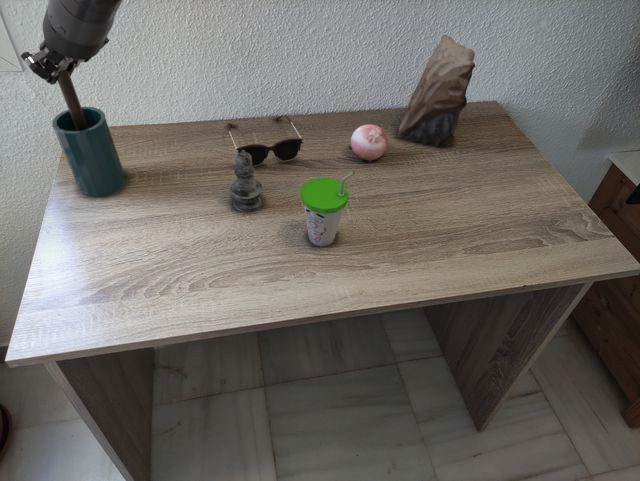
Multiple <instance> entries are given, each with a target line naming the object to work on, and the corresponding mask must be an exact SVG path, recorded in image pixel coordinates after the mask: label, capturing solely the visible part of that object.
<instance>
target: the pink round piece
mask: <svg viewBox="0 0 640 481" xmlns="http://www.w3.org/2000/svg"><path fill="white" fill-rule="evenodd" d="M387 148H388V137H387V134H386V132H385V130H384V129H383V128H381V127H380V126H379V125H376V124H364V125H360V126H358V128H356V129H355V130H354V131H353V133H352V134H351V137H350V145H348V147H347V149H348V150H351V151H352V153H353V154H354V155H355V156H357V157H358V158H359V159H361V160H365V161H367V162H368V163H371V162H372V161H374V160H377V159H379V158H381V157H382V156H383V155H384V154H385V153H386V151H387Z"/></svg>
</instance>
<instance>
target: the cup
mask: <svg viewBox="0 0 640 481" xmlns="http://www.w3.org/2000/svg"><path fill="white" fill-rule="evenodd" d="M354 175H355V172H354V170H353V171H351V172H349V173H348V174H346V175H345V176H343V177H342V178H341V179H340V181H338V180H336V179H333V178H327V177H321V178H313V179H311V180H309V181H307V182H306V183H304V184H303V186H302V188H301V190H300V196H299V197H300V199H301V203H302V205H303V207H304V213H305V219H306V220H305V222H306V228H307V233H308V234H307V235H308V239H309V242H310V243H311V244H312V245H314V246H317V247H320V248H322V247H329V246H330V245H332V244H333V243H334V241H335V239H336V235H337V232H338V228H339V225H340V221H341V218H342V214H343V211H344V208H345V207H346V206H347V205H348V204H347V203H348V202H349V198H350V193H349V191H348V188H347V186H345V182H346V181H347V180H348V179H350V178H351V177H353V176H354Z"/></svg>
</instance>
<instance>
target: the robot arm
mask: <svg viewBox="0 0 640 481" xmlns="http://www.w3.org/2000/svg"><path fill="white" fill-rule="evenodd" d="M123 1H124V0H48V3H47V6H46V10H45V13H44V16H43V20H42V32H43V38H44V39H43V41H42V42H41V43H40V44H39V47H38V48H39V50H38V51H37V52H34V51H32V52H29V51H25V52H22V53H21V55H20V58H21V59H22V60H23V61H24V63H25V64H26V65H27V66H28V68H29V69H30V71H32V73H33V74H35V75H37V76H38V77H39V78H40V79H42V80H44V81H45V82H46V83H47V84H49V85H51V86H53V85H56V84H57V83H58V81H57V79H58V78H59V75H60V72H61V71H62V70H65V69H66V68H67V69H68V72H69V74H70V77H71V76H72V74H73V72H74V71H75V69H77V68H79V67H80V66H81V64H82V63H88V62H90V60H91V59H92V58H94V57H95V56H97V55H98V54H99V53H100V51H101V50H102V49H103V48H104V47H105V46H106V45H107V44H108V43H109V41H110V39H109V37H108V35H109V33H110V31H111V29H112V28H113V26H114V22H115V18H116V15H117V12H118V11H119V9H120V7H121V5H122V3H123ZM71 78H72V77H71Z"/></svg>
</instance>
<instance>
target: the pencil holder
mask: <svg viewBox="0 0 640 481" xmlns="http://www.w3.org/2000/svg"><path fill="white" fill-rule="evenodd" d="M81 108H82V110H83V113H84V116H85V119H86V121H87V124H88V127H89V128H88V129H86V130H81V131H77V130H76V128H75V125H74V122H73V120H72V117H71V115H70V112H69V109H66V110H63V111H62V112H60V113H58V114H56V116H55V117H54V118H53V120H52V121H51V122H52V125H51V126H52V129H53V131H54V133H55V136H56V138H57V140H58V143H59V146H60V147H61V150H62V152H63V155H64V157H65V159H66V162H67V164H68V166H69V169H70V171H71V173H72V176H73V178H74V181H75V183H76V185H77V187H78V189H79V191H80V192H81V194H83V195H84V196H87V197H89V198H104V197H108V196H111V195H113V194H116V193H117V192H119V191H120V190H122V188H123V187H124V186H125V184H126V176H125V171H124V169H123V166H122V163H121V159H120V156H119V153H118V150H117V148H116V144H115V141H114V137H113V135H112V132H111V129H110V126H109V122H108V119H107V116H106V114H105V112H104V111H102V109H100V108H97V107H94V106H81Z"/></svg>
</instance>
